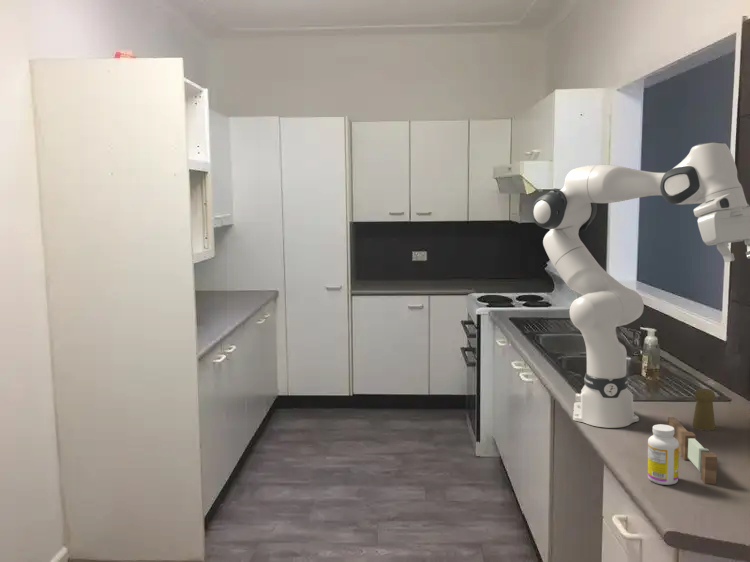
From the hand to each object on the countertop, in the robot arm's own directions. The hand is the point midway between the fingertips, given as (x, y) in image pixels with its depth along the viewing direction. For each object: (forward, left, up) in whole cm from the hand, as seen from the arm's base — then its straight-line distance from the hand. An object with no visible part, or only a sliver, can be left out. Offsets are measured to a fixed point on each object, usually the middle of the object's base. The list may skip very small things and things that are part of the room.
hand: (741, 259), depth 159 cm
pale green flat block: (+5, -10, -50) cm, 51 cm away
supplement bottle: (+12, -21, -51) cm, 56 cm away
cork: (-24, +2, -51) cm, 56 cm away
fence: (-1, -10, -51) cm, 52 cm away
